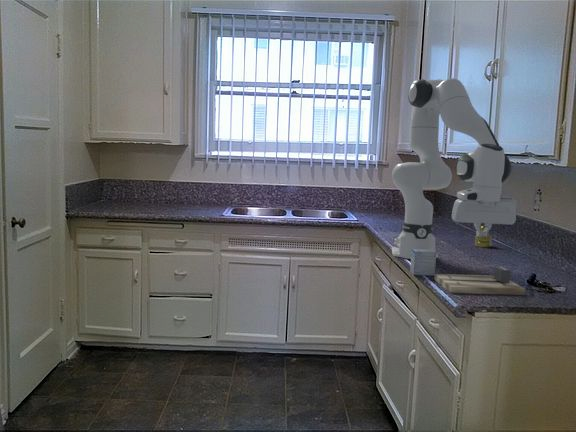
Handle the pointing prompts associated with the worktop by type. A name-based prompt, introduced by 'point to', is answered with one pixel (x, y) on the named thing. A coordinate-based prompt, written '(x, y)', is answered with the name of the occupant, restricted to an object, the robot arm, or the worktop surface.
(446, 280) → the console
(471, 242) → the worktop surface
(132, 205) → the worktop surface
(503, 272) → the fader knob
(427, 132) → the robot arm
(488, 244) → the yellow lumpy upright piece
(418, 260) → the medicine box
